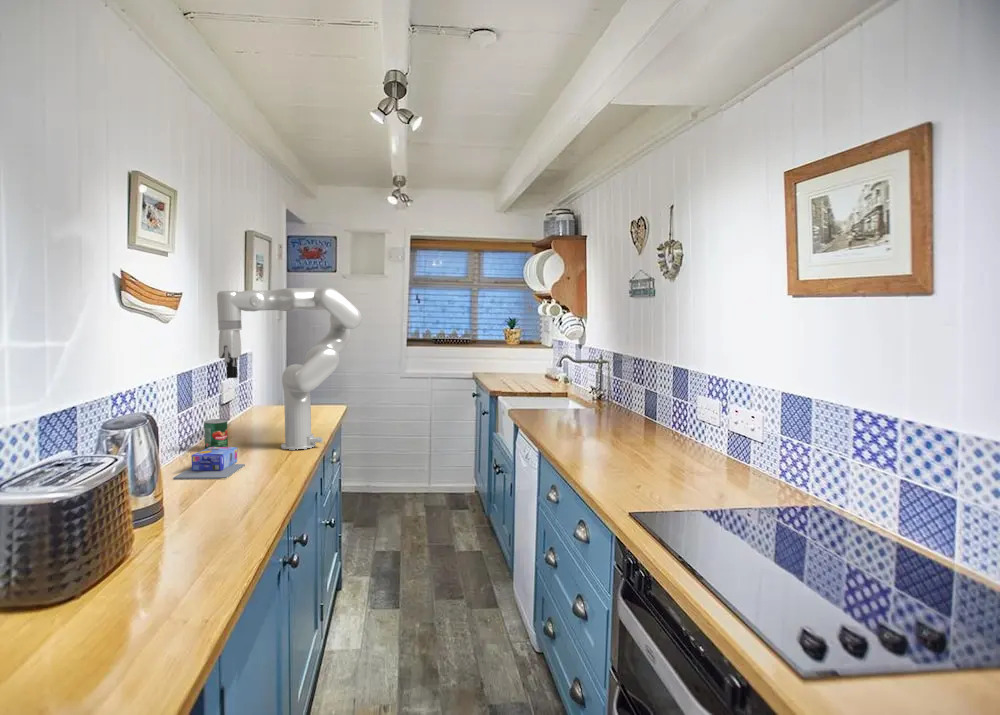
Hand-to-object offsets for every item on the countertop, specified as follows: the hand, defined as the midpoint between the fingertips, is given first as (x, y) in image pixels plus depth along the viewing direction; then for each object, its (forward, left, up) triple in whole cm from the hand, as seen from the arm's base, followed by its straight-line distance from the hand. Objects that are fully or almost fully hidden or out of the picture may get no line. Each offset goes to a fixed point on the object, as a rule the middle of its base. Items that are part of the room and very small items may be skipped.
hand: (232, 377), depth 218 cm
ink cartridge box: (-1, +11, -25) cm, 27 cm away
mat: (-1, +23, -28) cm, 36 cm away
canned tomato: (+10, -9, -28) cm, 32 cm away
